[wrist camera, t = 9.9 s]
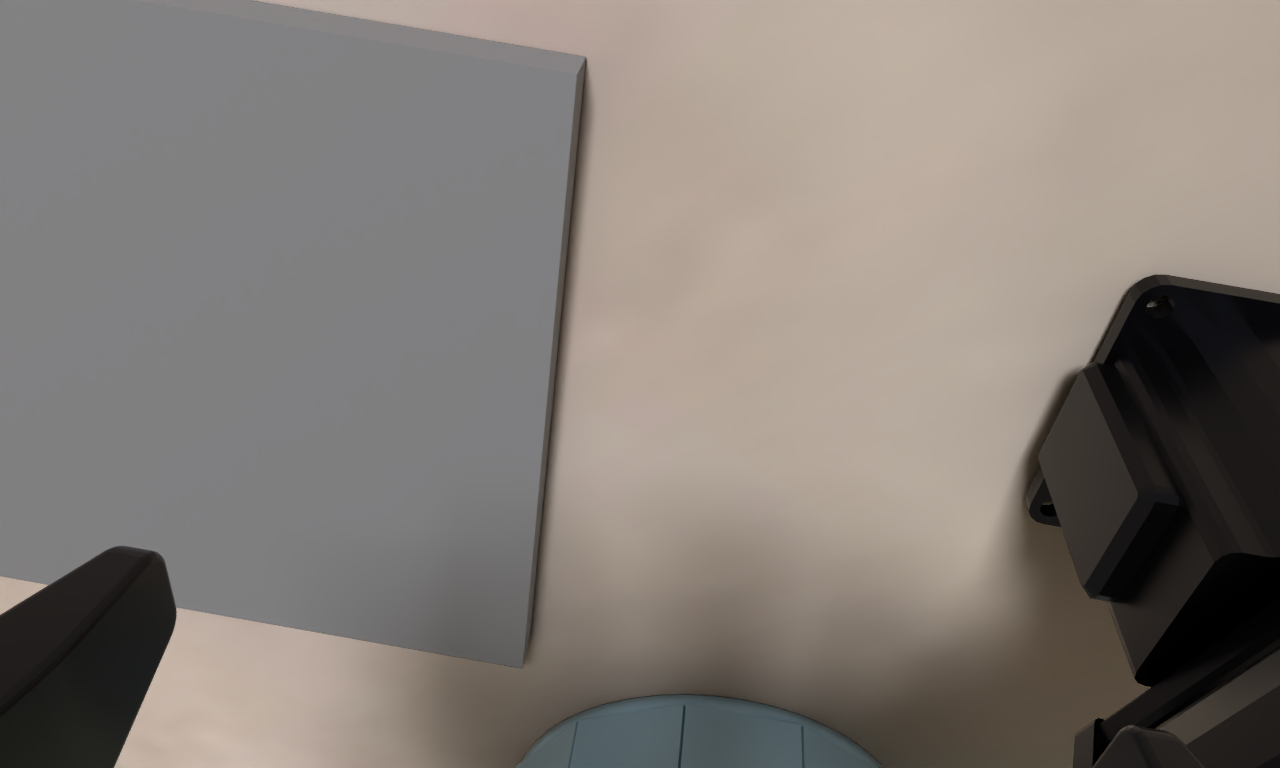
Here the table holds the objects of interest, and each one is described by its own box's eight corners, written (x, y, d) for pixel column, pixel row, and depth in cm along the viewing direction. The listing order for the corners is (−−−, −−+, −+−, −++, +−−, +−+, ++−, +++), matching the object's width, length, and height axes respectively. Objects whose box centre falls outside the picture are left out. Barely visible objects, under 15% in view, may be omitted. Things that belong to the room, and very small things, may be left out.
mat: (585, 56, 18) (576, 74, 17) (529, 640, 28) (522, 668, 27) (-311, -95, 18) (-361, -84, 17) (-43, 538, 28) (-67, 564, 27)
